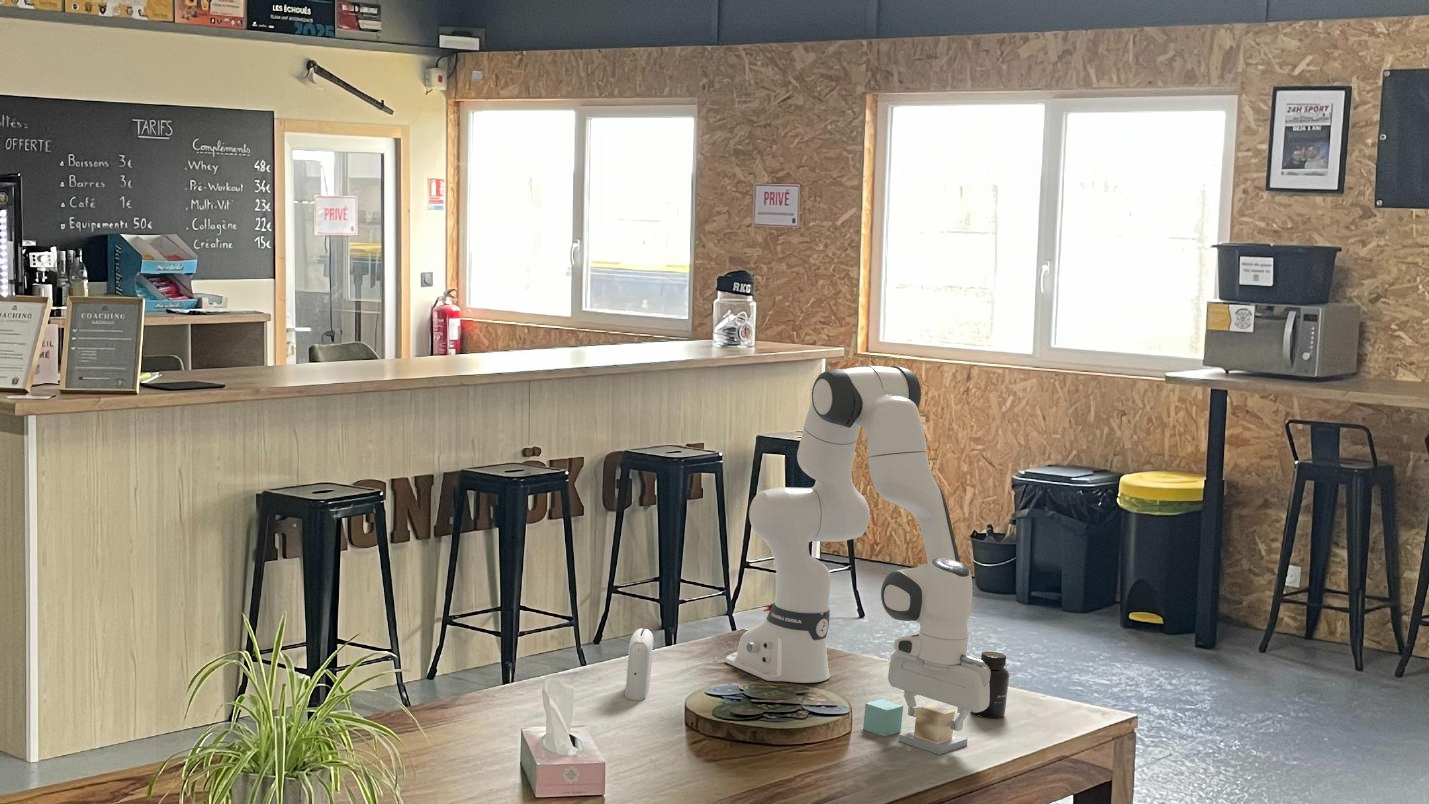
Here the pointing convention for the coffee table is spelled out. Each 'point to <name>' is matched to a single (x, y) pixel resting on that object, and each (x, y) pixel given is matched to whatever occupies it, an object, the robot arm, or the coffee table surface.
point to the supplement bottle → (996, 685)
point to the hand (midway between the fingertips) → (934, 722)
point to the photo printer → (639, 664)
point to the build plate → (931, 745)
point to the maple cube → (934, 723)
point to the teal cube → (883, 717)
